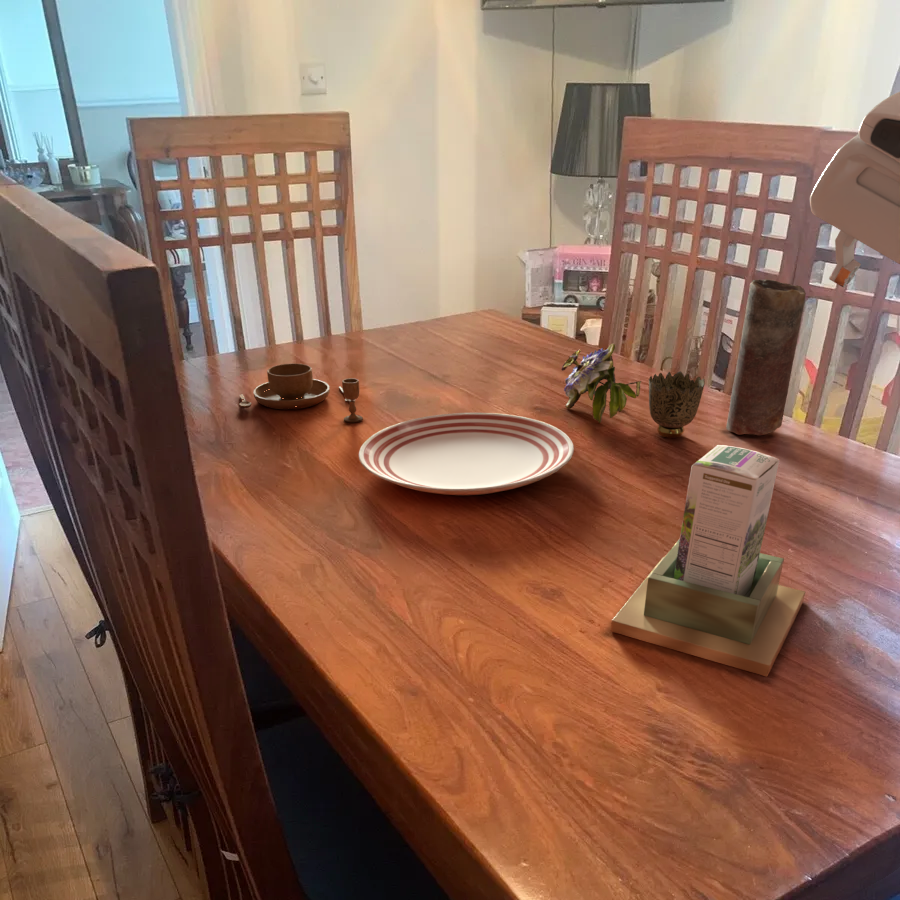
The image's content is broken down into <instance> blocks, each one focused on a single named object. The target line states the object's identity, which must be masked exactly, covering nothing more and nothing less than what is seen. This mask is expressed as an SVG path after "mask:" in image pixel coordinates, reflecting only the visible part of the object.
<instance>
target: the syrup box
mask: <svg viewBox="0 0 900 900" xmlns="http://www.w3.org/2000/svg"><path fill="white" fill-rule="evenodd" d="M780 461H781V460H780V459H779V458H777V457H775V456H773V455H772V456H771V455H769V454H766V453H763V452H761V451H760V452H759V451H756V450H752V449H749V448H744V447H739V446H733V445H726V444H716V446H714V447H713V448H712V449H711V450H709V451H708V452H706V454H704V455H703V456H702V457H700V458H699V459H698V460H697V461H696V462H694V463H693V464H692V465H691V468H690V473H689V478H688V485H687V492H686V498H685V505H684V509H683V510H684V512H683V518H682V522H681V530H680V536H679V539H680V541H679V548H678V554H677V561H676V567H675V572H674V579H677V580H681V581H685V582H689V583H693V584H697V585H701V586H705V587H709V588H713V589H717V590H721V591H725V592H729V593H733V594H737V595H740V596H744V597H748V598H749V597H750V595H751V592H752V587H753V583H754V578H755V574H756V569H757V564H758V559H759V554H760V553H761V550H762V545H763V541H764V535H765V530H766V527H767V523H768V517H769V513H770V507H771V503H772V498H773V494H774V488H775V483H776V479H777V475H778V471H779V466H780V465H779V464H780Z"/></svg>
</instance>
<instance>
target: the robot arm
mask: <svg viewBox="0 0 900 900" xmlns="http://www.w3.org/2000/svg"><path fill="white" fill-rule="evenodd" d="M809 206H810V211H811V213H812V215H813V216H814V217H817V218H818V219H820V220H822V221H824V222H826V223H827V224H829V225H830V226H832V227H834V228H836V229H838V230H839V232H838V234H837V236H836V238H835V239H834V247H835V263H836V264H835V267H834V268H833V270H832V272H831V273H830V276H829V278H828V280H830V282H831V281H832V283H835V284H836V285H838V286H840V287H841V288H845V287H846V286H847V285H848V284H850V283H851V281H852V280H853V279H854V278H855V276H856V272H858V270H859V269H860V267H861V265H862V263H861V262H859V261H857V260H856V259H855V243H857V242H858V241H859V242H860V243H862V244H863V245H865V246H867V247H869V248H870V249H872V250H874V251H876V252H877V253H879V254H881V255H882V256H884V257H886V258H888V259H890V260H891V261H893V262H895V263H896V264H897V265H900V91H898V92H896V93H893V94H892V95H890V96H888V97H886V98H885V99H883V100H882V101H880V102H879V103H877V104H876V105H875V106H874V107H872V109H870V110H869V112H867V114H865V116H864V117H863V119H862V121H861V123H860V125H859V128H858V133H857V134H856V135H855V136H854V137H852V138H851V139H849V140H847V142H845V143H844V144H843V145H841V146H840V148H839V149H838V150H837V151H836V153H835V154H834V155H833V157H832V158H831V160H830V161H829V163H828V164H827V165H826V167H825V168H824V170H823V172H822V173H821V175H820V177H819V178H818V180H817V182H816V184H815V185H814V187H813V188H812V191H811V194H810V195H809Z"/></svg>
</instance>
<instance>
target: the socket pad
mask: <svg viewBox="0 0 900 900" xmlns="http://www.w3.org/2000/svg"><path fill="white" fill-rule="evenodd" d="M679 541H680V538H679V539H678V540H677V541H676V543H675V544H674V545H673V546H672V547H671V548H670V550H669V551H668V552H667V553H666V555H664V556H663V557H661V559H660V560H659V562H658V563H657V564H656V565H655V566H654V567H653V569H652V570H651V572H650V573H649V574H648V575H647V576H646V577H645V579H644V580H643V581H642V582H641V584H640V585H639V586H638V588H637V589H636V590H635V591H634V592H633V593H632V595H631V596H630V597H629V599H628V600H627V601H626V602H625V604H624V605H622V607H621V608H620V610H619V611H618V612H617V613H616V615H615V616H614V617H613V618H612V619H611V623H610V632H611V633H615V634H619V635H622V636H626V637H629V638H632V639H635V640H639V641H643V642H646V643H649V644H652V645H656V646H660V647H662V648H667V649H670V650H674V651H677V652H679V653H683V654H687V655H691V656H695V657H698V658H701V659H704V660H708V661H711V662H715V663H718V664H721V665H726V666H729V667H731V668H735V669H739V670H743V671H746V672H748V673H749V672H750V673H753V674H756V675H759V676H763V677H768V676H769V674H770V672H771V670H772V668H773V665H774V664H775V662H776V659H777V657H778V655H779V653H780V651H781V649H782V647H783V646H784V643H785V641H786V638H787V637H788V635H789V633H790V630H791V628H792V626H793V625H794V623H795V620H796V618H797V615H798V614H799V612H800V609H801V607H802V606H803V604H804V600H805V596H806V591H804V590H802V589H798V588H793V587H789V586H784V585H781V584H780V580H781V575H782V571H783V566H784V563H785V558H784V557H779V556H775V555H770V554H766V553H761V552H760V554H759V559H758V564H757V569H756V574H755V578H754V583H753V587H752V592H751V595H750V597H749V598H748V597H744V596H740V595H737V594H733V593H729V592H725V591H721V590H717V589H713V588H709V587H705V586H701V585H697V584H693V583H689V582H685V581H681V580H677V579H674V572H675V567H676V561H677V554H678V548H679Z"/></svg>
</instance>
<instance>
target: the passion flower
mask: <svg viewBox="0 0 900 900" xmlns="http://www.w3.org/2000/svg"><path fill="white" fill-rule="evenodd" d="M615 349H616V343H611V344H609V346H608V347H607V349H604V347H601V348H598V349H597V350H596V349H595V350H594V351H591V352H590V353H587V354H586V356H584V355H583V356H582V360H581V361H580V363H579V362H578V358H579V355H580V353H582V349H581V348H579V349H578V350H576V351H574V352H573V353H572V354H571V355H569V357H568V358H567V360H566V361H564V363H563V365H562V367H561V368H560V369H561V370H560V371H561V372H562V371H565V370H566V369H567V368H568V367H570V366H572V365H575V366H574V367H573V369H572V372H571V373H570V374H569V375H568V377H566V378H565V380H564V382H565V386H564V388H563V391H564V394H565V396H566V397H568V401H567V403H566V404H565V406H564V407H565V408H566V409H572V408H573V407H575V405H576V403H577V402H578V401H579V400H580V398H581V396H582V395H584V394H586V393H588V394H587V396H588V398H589V400H590V401H592V416H593V420H595V421H597V422H598V424H601V423H602V417H603V414H604V412H605V410H606V407H607V398H608V397H607V393H608V391H609V402H608V403H609V404H608V407H609V408H608V411H609V419H612V418H613V417H615V416H616V415H617V414H618V413H621V412H622V411H623V410H624V409H625V407H626V405H627V401H628V397H629V398H632V399H637V397H639V396H640V391H641V383H642V380H638V381H633V382H628V383H623V382H616V374H615V370H616V367H615V366H614V358H613V353H614V351H615ZM603 380H606V381H605V382H602V381H603ZM599 384H601V385H599ZM635 384H636V386H635V388H636V390H635V391H634V390H633V389H632V387H630V385H635ZM598 385H599V386H598Z"/></svg>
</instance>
